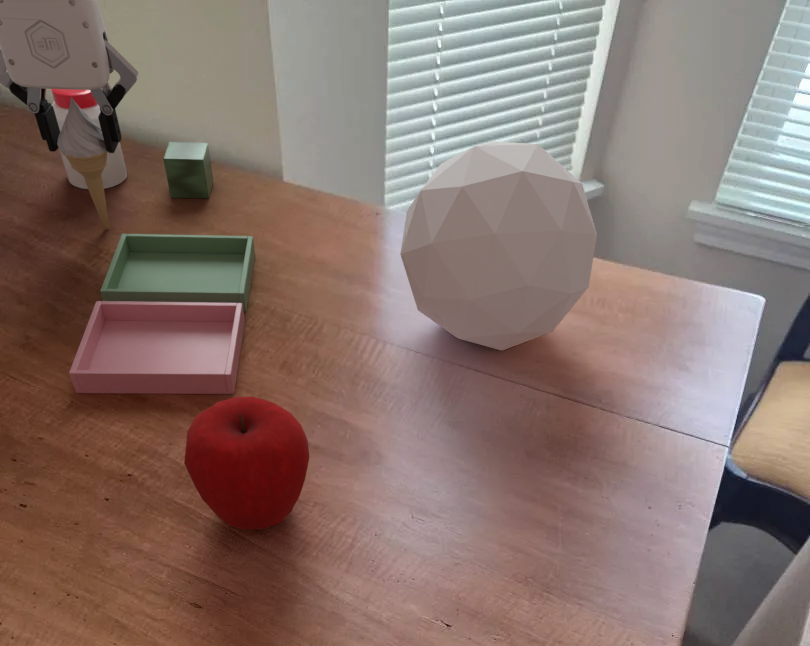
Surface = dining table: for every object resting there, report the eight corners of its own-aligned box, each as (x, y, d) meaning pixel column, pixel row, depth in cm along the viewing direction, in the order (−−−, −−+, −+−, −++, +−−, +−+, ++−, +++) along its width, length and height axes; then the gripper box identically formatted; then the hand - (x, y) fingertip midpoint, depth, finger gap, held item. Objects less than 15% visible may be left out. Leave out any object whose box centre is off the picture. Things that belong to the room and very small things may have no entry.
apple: (332, 529, 63) (328, 432, 55) (224, 570, 60) (202, 474, 52) (284, 456, 69) (274, 358, 60) (183, 491, 65) (157, 392, 57)
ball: (448, 355, 91) (437, 176, 86) (617, 341, 82) (615, 142, 77) (374, 360, 74) (356, 139, 70) (575, 343, 66) (570, 90, 61)
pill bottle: (78, 194, 98) (52, 103, 90) (60, 170, 102) (33, 81, 94) (136, 182, 101) (115, 92, 93) (115, 159, 105) (94, 71, 97)
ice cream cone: (93, 245, 90) (54, 110, 79) (76, 225, 93) (36, 92, 82) (137, 233, 93) (106, 100, 81) (119, 213, 95) (86, 83, 84)
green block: (170, 197, 99) (163, 158, 95) (176, 180, 102) (169, 141, 98) (209, 198, 99) (203, 159, 95) (213, 181, 102) (207, 142, 98)
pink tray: (75, 393, 73) (68, 373, 71) (102, 320, 81) (96, 300, 79) (234, 394, 74) (230, 374, 72) (244, 322, 82) (242, 302, 80)
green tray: (105, 310, 82) (99, 291, 80) (126, 252, 90) (121, 233, 88) (246, 312, 83) (243, 293, 81) (255, 254, 91) (253, 235, 89)
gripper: (-77, -44, 69) (-3, 160, 82) (115, -36, 70) (156, 164, 84) (-49, -65, 73) (16, 131, 87) (130, -57, 75) (166, 135, 88)
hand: (84, 145), depth 85 cm, fingers closed on ice cream cone, 5 cm apart
